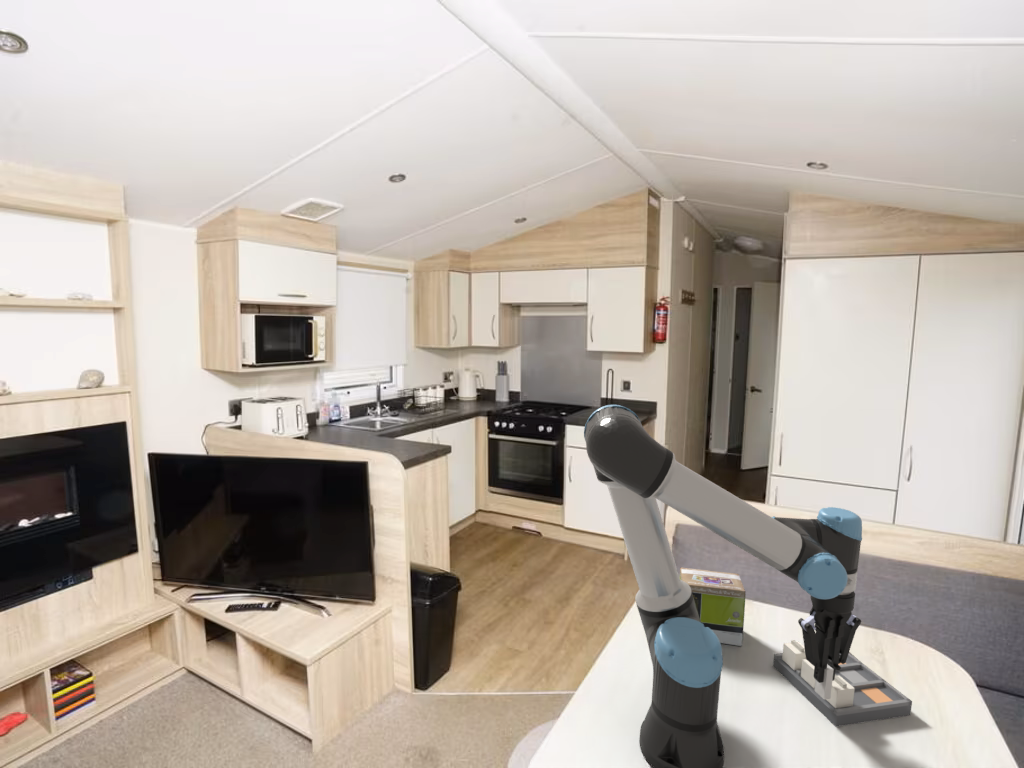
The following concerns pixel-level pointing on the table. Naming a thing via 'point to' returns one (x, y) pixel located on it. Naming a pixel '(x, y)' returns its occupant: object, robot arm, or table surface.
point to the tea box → (718, 602)
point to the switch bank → (869, 695)
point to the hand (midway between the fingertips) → (822, 694)
